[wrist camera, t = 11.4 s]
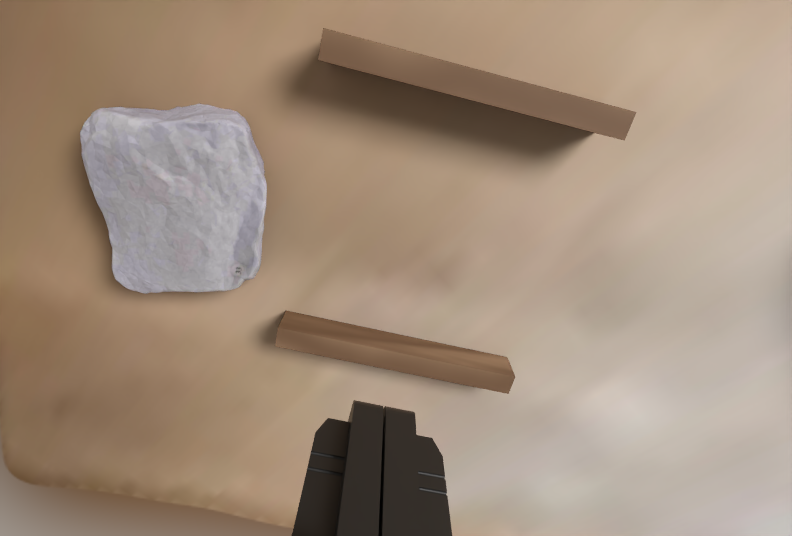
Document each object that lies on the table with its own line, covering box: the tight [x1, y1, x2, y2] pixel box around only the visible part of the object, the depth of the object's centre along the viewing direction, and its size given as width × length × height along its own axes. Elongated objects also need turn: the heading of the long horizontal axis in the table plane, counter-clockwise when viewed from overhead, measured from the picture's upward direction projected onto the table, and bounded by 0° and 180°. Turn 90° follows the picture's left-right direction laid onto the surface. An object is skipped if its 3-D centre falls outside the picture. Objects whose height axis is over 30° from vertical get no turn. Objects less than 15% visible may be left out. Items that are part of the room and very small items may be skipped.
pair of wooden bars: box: [275, 28, 636, 394], centre depth 29 cm, size 20×17×4 cm
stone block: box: [80, 104, 267, 293], centre depth 29 cm, size 12×5×10 cm
